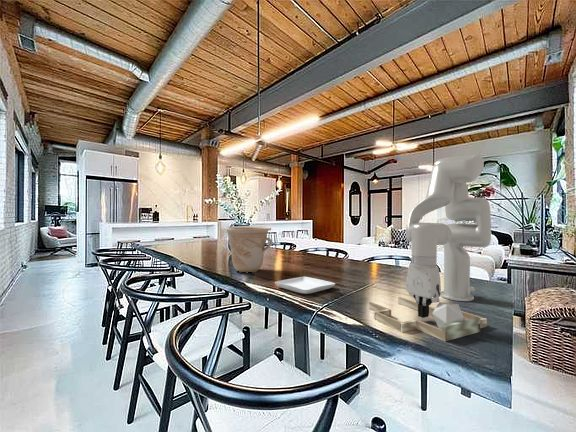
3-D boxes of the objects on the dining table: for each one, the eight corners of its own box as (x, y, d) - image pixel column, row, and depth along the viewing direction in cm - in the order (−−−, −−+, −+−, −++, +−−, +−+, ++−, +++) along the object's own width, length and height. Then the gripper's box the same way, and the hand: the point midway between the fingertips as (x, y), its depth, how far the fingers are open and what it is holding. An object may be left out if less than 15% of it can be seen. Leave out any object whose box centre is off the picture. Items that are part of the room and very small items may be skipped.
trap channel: (410, 301, 116) (410, 291, 116) (491, 328, 88) (492, 315, 88) (355, 311, 103) (356, 299, 103) (430, 345, 76) (430, 330, 76)
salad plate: (304, 281, 150) (304, 275, 150) (336, 289, 135) (336, 282, 135) (273, 288, 136) (273, 281, 136) (305, 298, 120) (305, 290, 120)
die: (457, 343, 85) (476, 317, 85) (443, 333, 81) (464, 306, 81) (434, 326, 92) (452, 302, 92) (421, 316, 89) (440, 291, 88)
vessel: (285, 268, 177) (280, 220, 174) (245, 281, 158) (239, 228, 156) (258, 262, 199) (253, 220, 196) (221, 273, 180) (215, 227, 178)
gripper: (397, 258, 99) (397, 311, 99) (437, 265, 86) (436, 326, 86) (412, 257, 103) (412, 308, 103) (452, 263, 89) (452, 322, 89)
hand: (423, 316), depth 94 cm, fingers closed
